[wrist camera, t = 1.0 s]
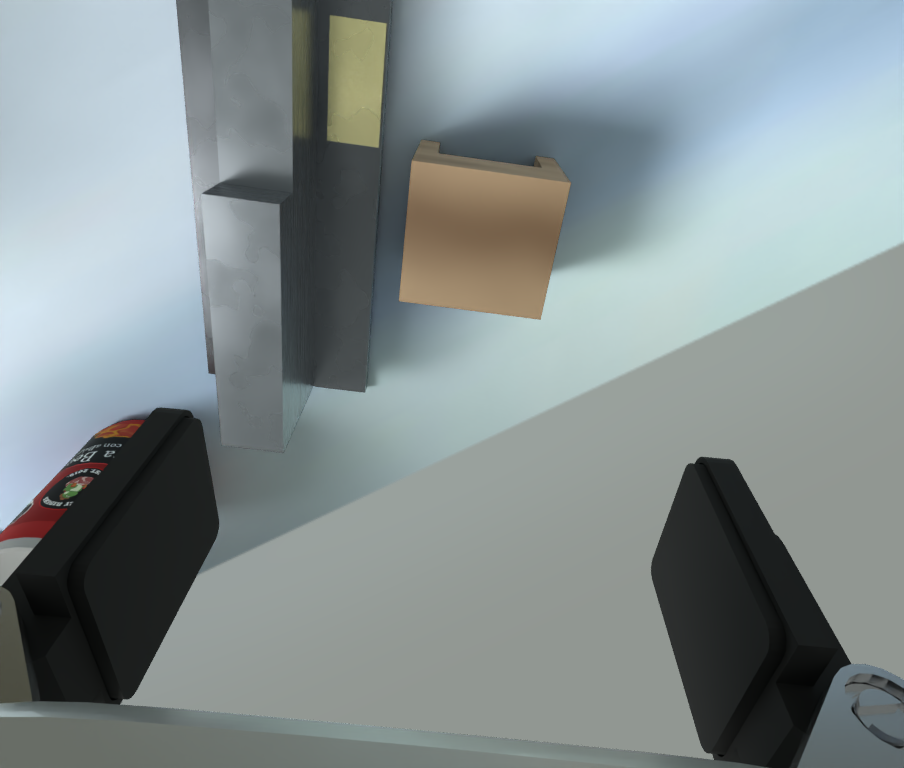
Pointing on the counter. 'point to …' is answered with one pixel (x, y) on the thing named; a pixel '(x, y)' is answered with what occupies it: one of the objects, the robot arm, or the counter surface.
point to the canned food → (60, 495)
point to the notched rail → (284, 198)
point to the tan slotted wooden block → (481, 232)
